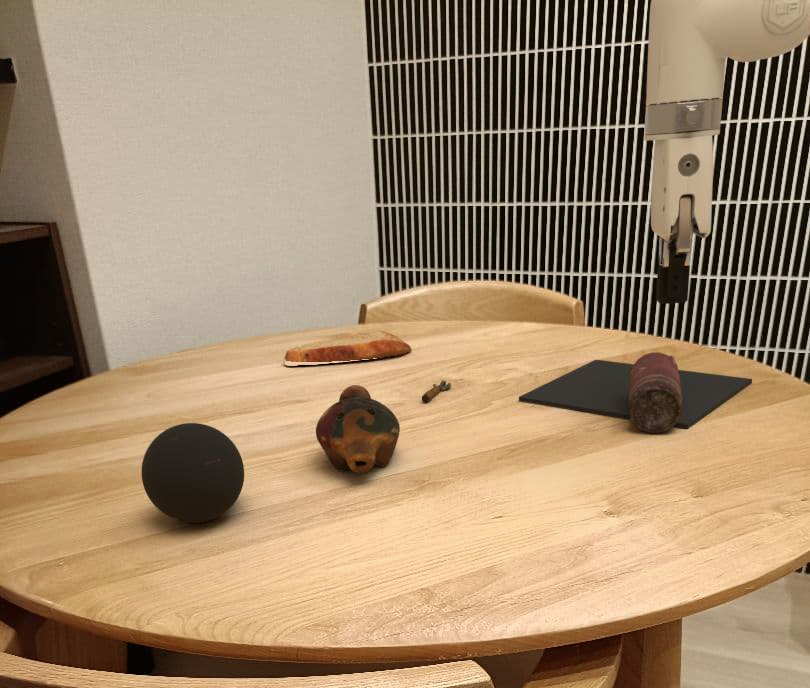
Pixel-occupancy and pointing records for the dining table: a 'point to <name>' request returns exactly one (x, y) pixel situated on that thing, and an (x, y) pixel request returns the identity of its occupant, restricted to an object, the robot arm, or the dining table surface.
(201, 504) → the speaker
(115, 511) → the dining table surface
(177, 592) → the dining table surface
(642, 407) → the can
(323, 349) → the bread slice
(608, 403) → the mat
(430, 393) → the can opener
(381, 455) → the decorative turtle
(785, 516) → the dining table surface
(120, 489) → the dining table surface
